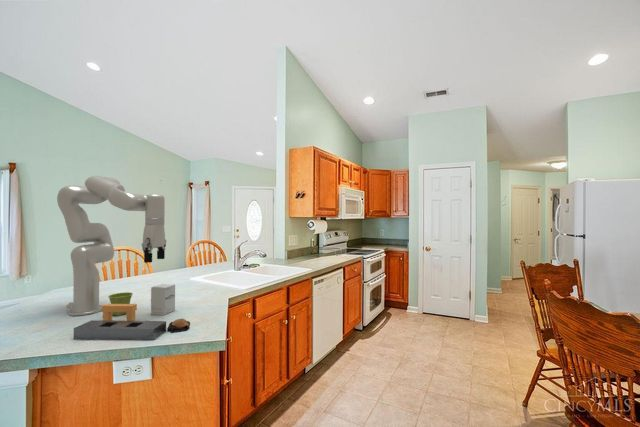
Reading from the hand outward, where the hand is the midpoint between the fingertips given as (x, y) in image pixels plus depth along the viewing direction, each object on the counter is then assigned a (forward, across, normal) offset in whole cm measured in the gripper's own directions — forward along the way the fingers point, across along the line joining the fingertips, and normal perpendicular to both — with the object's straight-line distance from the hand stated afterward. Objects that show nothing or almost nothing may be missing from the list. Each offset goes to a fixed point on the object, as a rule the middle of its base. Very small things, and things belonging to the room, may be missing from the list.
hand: (154, 260), depth 129 cm
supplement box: (+26, -7, 0) cm, 26 cm away
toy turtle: (+26, +12, +17) cm, 33 cm away
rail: (+25, +19, -2) cm, 32 cm away
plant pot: (+26, -5, -19) cm, 32 cm away
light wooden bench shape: (+25, +8, -10) cm, 28 cm away
